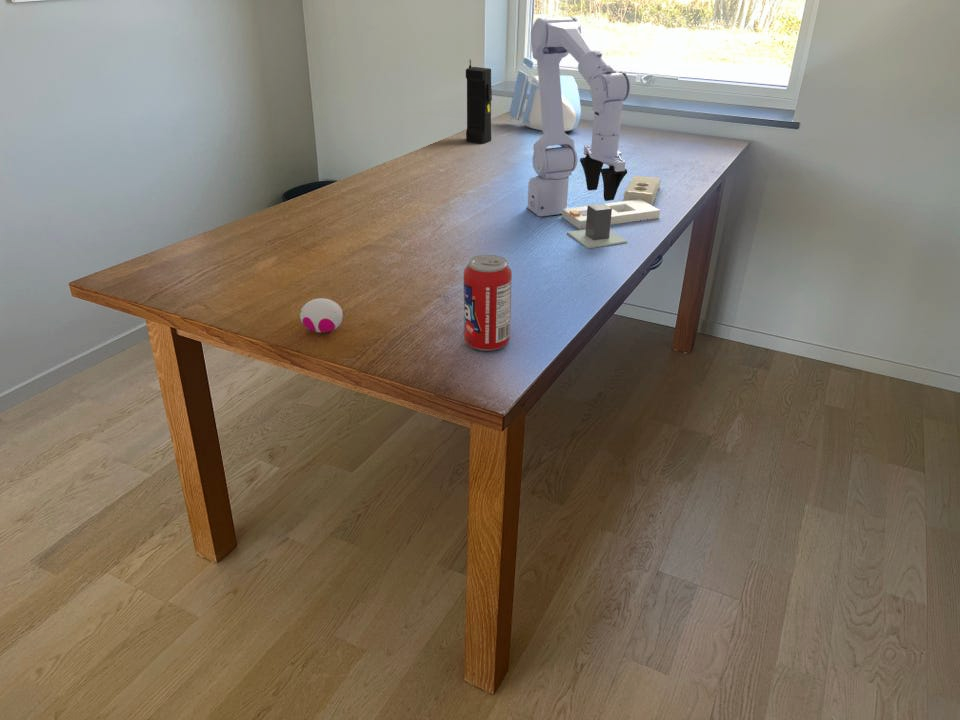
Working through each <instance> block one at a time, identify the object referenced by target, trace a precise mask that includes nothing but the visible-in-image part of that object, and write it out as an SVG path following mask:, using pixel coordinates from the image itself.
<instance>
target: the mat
mask: <svg viewBox="0 0 960 720" xmlns="http://www.w3.org/2000/svg"><path fill="white" fill-rule="evenodd" d="M585 232H586V228H584V229H578V230H571V231H570V230H569V231H566V233H567V235H568V236H570V237H572V238H573V240H575V241H576V242H578V243H580V245H583V246H584V247H585V248H586V249H587V250H589V249H594V248H601V247H607V246H613V245H620V244H626V243H628V240H627V239H625V238H623V237H622V236H620V235H618V234H617V233H616V232H614V231H613V230H611V229H610V234H609V238H608V239H600V240H592V239H591V238H589V237H588V236H587V235H585Z"/></svg>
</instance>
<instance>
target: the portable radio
mask: <svg viewBox="0 0 960 720" xmlns="http://www.w3.org/2000/svg"><path fill="white" fill-rule="evenodd" d="M471 63H472V60H469V66H468V68H466V69H465V79H466V131H465V132H466V133H465V141H466V142H467V143H476V144H482V143H483V144H485V143H488V142H491V141H492V100H493V97H492V96H493V95H492V94H493V92H492V69H491V68H490V67H489V68H488V67H487V68H486V67H478V66H472V64H471Z"/></svg>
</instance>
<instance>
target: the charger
mask: <svg viewBox="0 0 960 720" xmlns="http://www.w3.org/2000/svg"><path fill="white" fill-rule="evenodd" d="M587 206H588V207H587V220H586V228H585V229H586V232H585V235H587V236H588V237H589V238H591V239H592V240H600V239H608V238H609V234H610V230H611V225H610V224H611V214H612V208H610V207H609V206H607V205H606V203H603V202H602V203H593V204H588V205H587Z"/></svg>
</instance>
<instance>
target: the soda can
mask: <svg viewBox="0 0 960 720" xmlns="http://www.w3.org/2000/svg"><path fill="white" fill-rule="evenodd" d="M508 262H509V261H508V260H507V259H506V258H504V257H501V256H498V255H492V254H482V255H477V256H473V257H471V258H470V259H469V260H467V265H466V267H465V268H464V269H463V339H464V342H465V344H466V345H468V346H469V347H471V348H472V349H475V350H478V351H484V352H490V351H496V350H499V349H502V348H504V347H505V346H506V345H507V344H509V342H510V339H511V314H512V313H511V311H512V310H511V309H512V307H511V306H512V277H513V276H512V269H511V268H510V266H509V265H508V264H509V263H508Z"/></svg>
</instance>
